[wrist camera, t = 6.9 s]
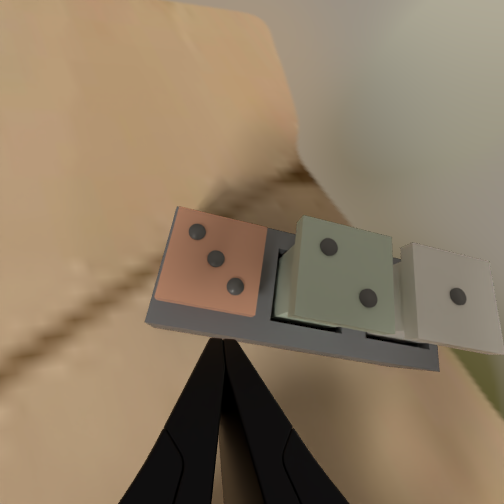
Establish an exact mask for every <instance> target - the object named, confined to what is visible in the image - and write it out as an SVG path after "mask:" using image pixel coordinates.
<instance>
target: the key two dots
mask: <svg viewBox="0 0 504 504" xmlns="http://www.w3.org/2000/svg"><path fill="white" fill-rule="evenodd" d="M270 319H274V320H279V321H285V322H290V323H296V324H301V325H307V326H312V327H318V328H323V329H325V328H332V327H343V328H348V329H354V330H359V331H364V332H370V333H375V334H381V335H389V334H395V312H394V284H393V256H392V237H390V236H385V235H382V234H378V233H374V232H370V231H366V230H362V229H358V228H354V227H350V226H346V225H342V224H338V223H334V222H330V221H326V220H322V219H318V218H314V217H310V216H306V215H303V216H302V217H301V218H300V220H299V221H298V222H297V227H296V237H295V244H294V245H293V246H292V247H291V248H290V249H289V250H288V251H287V252H286V253H285V254H284V255H283V256H282V257H281V258H279V259H278V260H277V269H276V277H275V285H274V293H273V302H272V310H271V318H270Z"/></svg>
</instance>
